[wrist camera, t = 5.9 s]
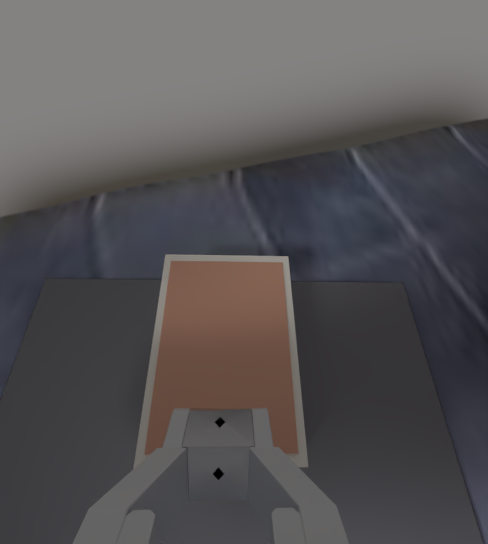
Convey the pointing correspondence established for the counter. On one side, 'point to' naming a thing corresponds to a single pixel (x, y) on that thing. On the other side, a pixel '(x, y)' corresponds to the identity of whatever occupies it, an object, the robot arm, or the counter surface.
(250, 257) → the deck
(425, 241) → the counter surface
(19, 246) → the counter surface
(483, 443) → the counter surface
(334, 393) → the mat
